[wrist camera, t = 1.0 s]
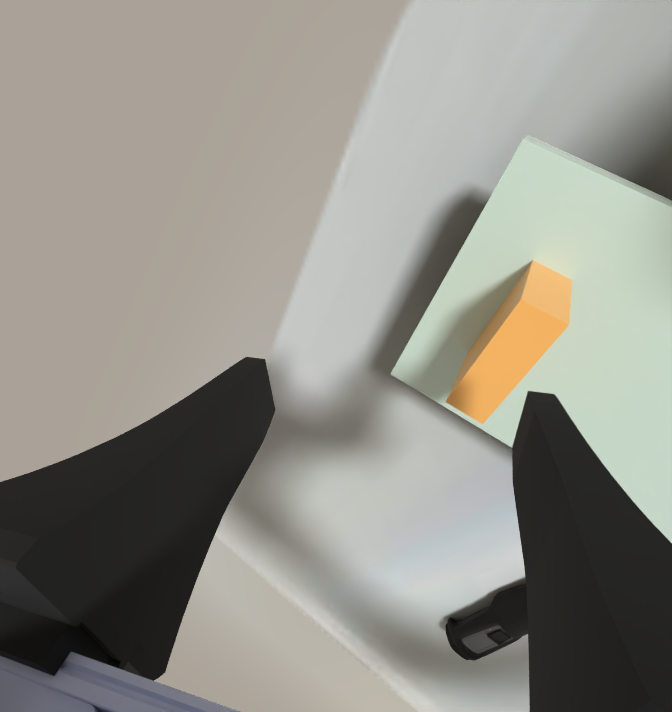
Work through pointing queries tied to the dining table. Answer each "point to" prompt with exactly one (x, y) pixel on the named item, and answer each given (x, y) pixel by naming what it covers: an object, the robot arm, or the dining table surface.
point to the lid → (562, 317)
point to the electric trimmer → (491, 625)
